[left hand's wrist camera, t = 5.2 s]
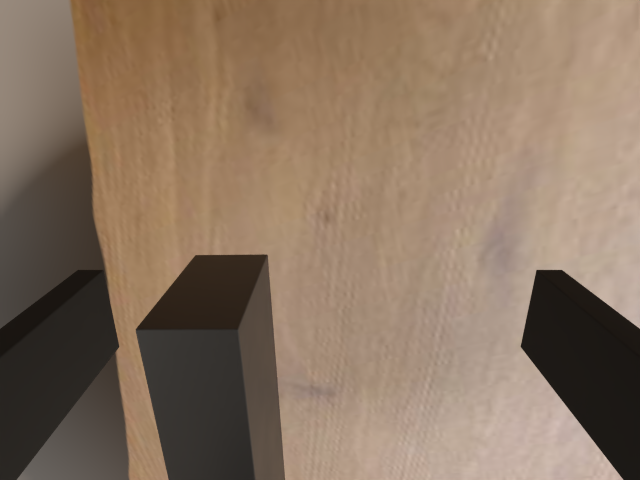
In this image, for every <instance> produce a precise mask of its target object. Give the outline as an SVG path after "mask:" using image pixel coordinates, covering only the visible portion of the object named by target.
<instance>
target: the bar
mask: <svg viewBox="0 0 640 480" xmlns="http://www.w3.org/2000/svg"><path fill="white" fill-rule="evenodd" d="M136 334H137V339H138V343H139V348H140V352H141V357H142V361H143V366H144V370H145V375H146V379H147V384H148V388H149V393H150V397H151V402H152V406H153V411H154V415H155V420H156V424H157V429H158V433H159V438H160V442H161V447H162V451H163V456H164V460H165V465H166V469H167V474H168V478H169V480H285V473H284V460H283V447H282V434H281V422H280V409H279V396H278V383H277V370H276V357H275V344H274V331H273V318H272V305H271V293H270V280H269V267H268V255H196V256H195V257H194V258H193V259H192V260H191V262H190V263H189V264H188V265H187V267H186V268H185V269H184V270H183V271H182V273H181V274H180V275H179V276H178V278H177V279H176V280H175V281H174V283H173V284H172V285H171V286H170V288H169V289H168V290H167V291H166V293H165V294H164V295H163V296H162V297H161V299H160V300H159V301H158V302H157V304H156V305H155V306H154V307H153V309H152V310H151V311H150V312H149V314H148V315H147V316H146V317H145V319H144V320H143V321H142V322H141V324H140V325H139V326H138V327H137V328H136Z"/></svg>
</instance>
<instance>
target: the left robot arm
mask: <svg viewBox="0 0 640 480" xmlns="http://www.w3.org/2000/svg"><path fill="white" fill-rule="evenodd" d="M118 348H119V343H118V338H117V334H116V329H115V324H114V319H113V314H112V309H111V305H110V300H109V295H108V290H107V285H106V280H105V276H104V271H103V270H78V271H76V272H75V273H74V274H72V275H71V276H70V277H68V278H67V279H66V280H64V281H63V282H62V283H60V284H59V285H58V286H56V287H55V288H54V289H52V290H51V291H50V292H48V293H47V294H46V295H45V296H43V297H42V298H40V299H39V300H38V301H37V302H35V303H34V304H33V305H31V306H30V307H29V308H27V309H26V310H25V311H23V312H22V313H21V314H19V315H18V316H17V317H15V318H14V319H13V320H11V321H10V322H9V323H7V324H6V325H5V326H3V327H2V328H1V329H0V480H17V478H18V477H19V476H20V474H21V473H22V472H23V471H24V469H25V468H26V467H27V465H28V464H29V463H30V462H31V460H32V459H33V458H34V456H35V455H36V454H37V453H38V451H39V450H40V449H41V447H42V446H43V445H44V443H45V442H46V441H47V439H48V438H49V437H50V436H51V434H52V433H53V432H54V430H55V429H56V428H57V427H58V425H59V424H60V423H61V421H62V420H63V419H64V418H65V416H66V415H67V414H68V412H69V411H70V410H71V408H72V407H73V406H74V405H75V403H76V402H77V401H78V399H79V398H80V397H81V396H82V394H83V393H84V392H85V390H86V389H87V388H88V387H89V385H90V384H91V383H92V381H93V380H94V379H95V377H96V376H97V375H98V374H99V372H100V371H101V370H102V368H103V367H104V366H105V365H106V363H107V362H108V361H109V359H110V358H111V357H112V355H113V354H114V353H115V352H116V350H117V349H118ZM521 348H522V349H523V350H524V352H525V353H526V354H527V355H528V357H529V358H530V359H531V361H532V362H533V363H534V365H535V366H536V367H537V368H538V370H539V371H540V372H541V374H542V375H543V376H544V377H545V379H546V380H547V381H548V383H549V384H550V385H551V387H552V388H553V389H554V390H555V392H556V393H557V394H558V396H559V397H560V398H561V399H562V401H563V402H564V403H565V405H566V406H567V407H568V409H569V410H570V411H571V412H572V414H573V415H574V416H575V418H576V419H577V420H578V421H579V423H580V424H581V425H582V427H583V428H584V429H585V431H586V432H587V433H588V434H589V436H590V437H591V438H592V440H593V441H594V442H595V443H596V445H597V446H598V447H599V449H600V450H601V451H602V453H603V454H604V455H605V456H606V458H607V459H608V460H609V462H610V463H611V464H612V465H613V467H614V468H615V469H616V471H617V472H618V473H619V475H620V476H621V477H622V478H623V480H640V329H639V328H638V327H637V326H635V325H634V324H633V323H631V322H630V321H629V320H627V319H626V318H625V317H623V316H622V315H621V314H619V313H618V312H617V311H615V310H614V309H613V308H611V307H610V306H609V305H607V304H606V303H605V302H603V301H602V300H601V299H600V298H598V297H597V296H596V295H594V294H593V293H592V292H590V291H589V290H588V289H586V288H585V287H584V286H582V285H581V284H580V283H578V282H577V281H576V280H574V279H573V278H572V277H570V276H569V275H568V274H566V273H565V272H564V271H563V270H537V271H536V276H535V280H534V285H533V290H532V295H531V300H530V305H529V309H528V314H527V319H526V324H525V329H524V334H523V338H522V343H521Z"/></svg>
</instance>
